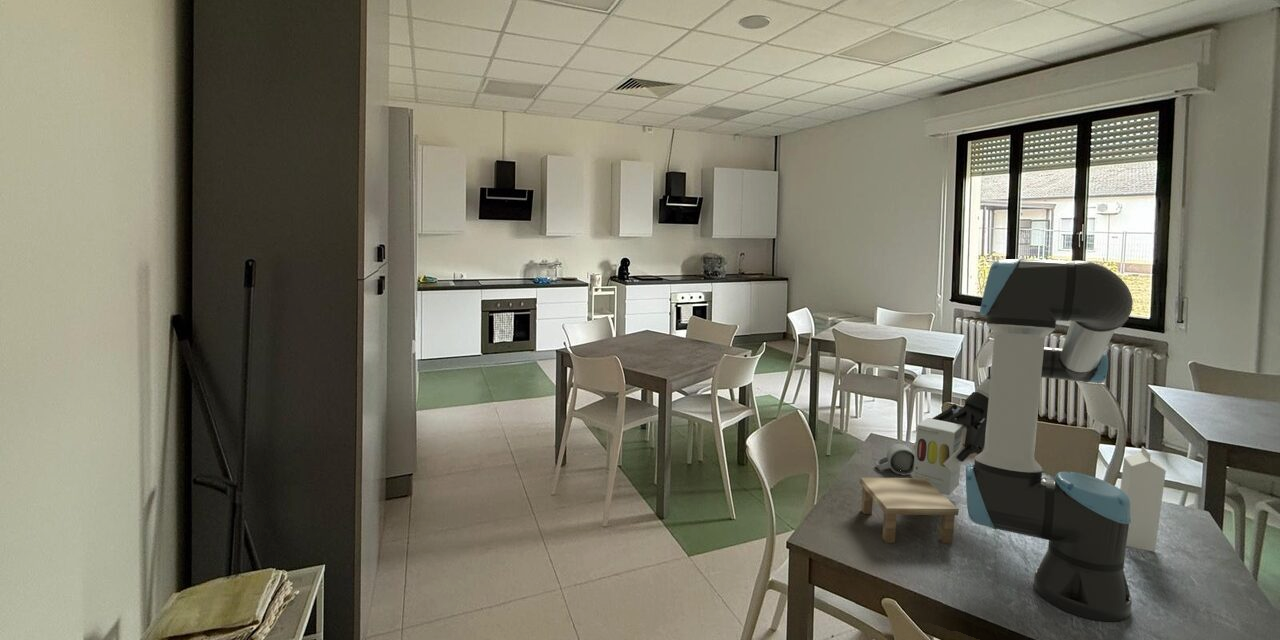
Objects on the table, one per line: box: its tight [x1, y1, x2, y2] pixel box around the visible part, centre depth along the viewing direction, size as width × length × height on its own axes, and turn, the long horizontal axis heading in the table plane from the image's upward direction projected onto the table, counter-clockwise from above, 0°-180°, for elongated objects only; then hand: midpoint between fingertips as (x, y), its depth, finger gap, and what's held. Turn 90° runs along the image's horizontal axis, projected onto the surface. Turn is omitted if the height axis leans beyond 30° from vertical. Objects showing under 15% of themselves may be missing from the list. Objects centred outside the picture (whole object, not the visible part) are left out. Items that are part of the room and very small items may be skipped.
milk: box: [1119, 446, 1167, 553], centre depth 135 cm, size 6×6×22 cm
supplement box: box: [912, 417, 965, 496], centre depth 158 cm, size 10×9×17 cm
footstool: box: [859, 477, 960, 544], centre depth 143 cm, size 17×16×8 cm
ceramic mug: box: [875, 443, 915, 476], centre depth 178 cm, size 11×8×8 cm
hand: (930, 458), depth 158 cm, fingers closed on supplement box, 13 cm apart
